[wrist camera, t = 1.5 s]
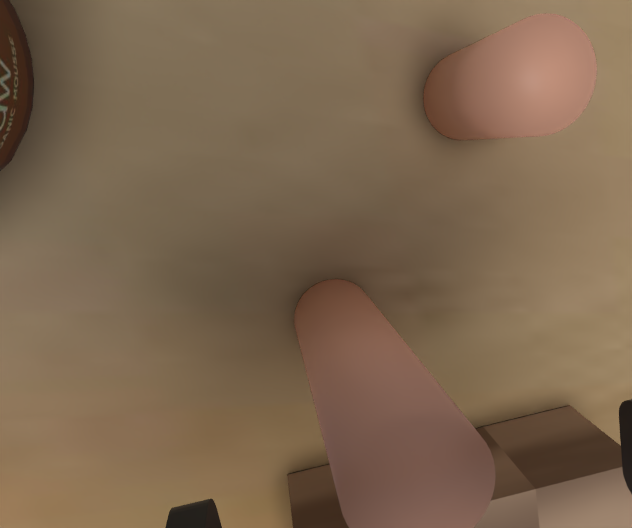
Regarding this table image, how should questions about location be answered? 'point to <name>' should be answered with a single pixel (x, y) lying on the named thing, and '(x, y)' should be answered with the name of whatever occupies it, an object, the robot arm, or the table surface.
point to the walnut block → (516, 478)
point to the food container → (13, 82)
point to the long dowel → (387, 420)
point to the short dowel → (514, 82)
